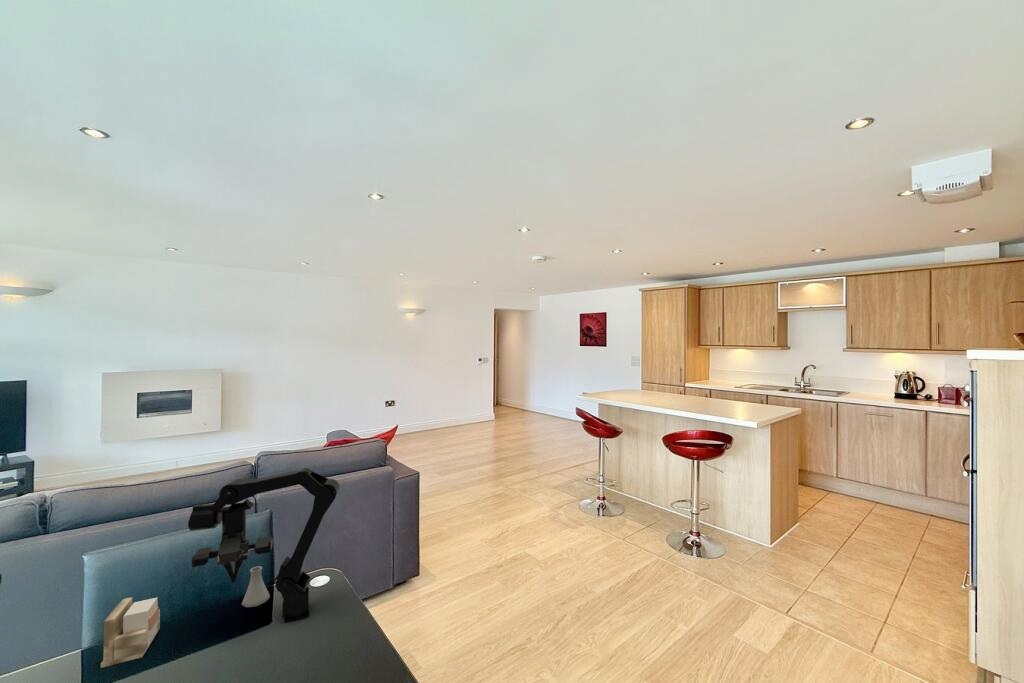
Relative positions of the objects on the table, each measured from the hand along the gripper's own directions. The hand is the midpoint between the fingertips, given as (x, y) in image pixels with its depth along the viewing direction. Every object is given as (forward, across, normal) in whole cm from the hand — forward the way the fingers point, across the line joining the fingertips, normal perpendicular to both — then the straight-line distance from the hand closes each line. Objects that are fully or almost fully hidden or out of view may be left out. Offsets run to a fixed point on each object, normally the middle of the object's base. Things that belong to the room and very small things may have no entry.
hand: (234, 581), depth 118 cm
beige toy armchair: (+12, -22, +1) cm, 25 cm away
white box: (+11, -21, +1) cm, 23 cm away
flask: (+12, +4, +11) cm, 17 cm away
